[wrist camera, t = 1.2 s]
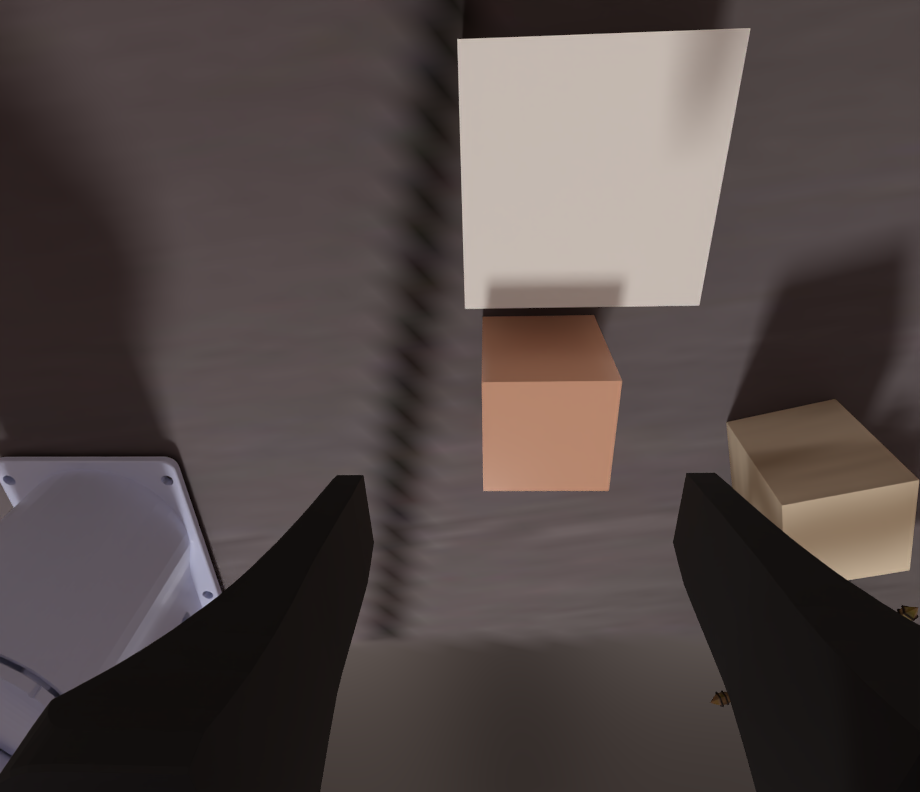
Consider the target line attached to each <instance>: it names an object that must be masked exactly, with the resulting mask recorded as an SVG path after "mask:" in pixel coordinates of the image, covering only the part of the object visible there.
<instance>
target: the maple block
mask: <svg viewBox="0 0 920 792" xmlns="http://www.w3.org/2000/svg"><path fill="white" fill-rule="evenodd" d="M727 434H728V445H729V456H730V467H731V478H732V488H733V489H734V490H736V491H737V492H738V493H739V494H740V495H741V496H742V497H743V498H745V499H746V500H747V501H748V502H749V503H750V504H751V505H753V506H754V507H755V508H756V509H757V510H758V511H760V512H761V513H762V514H763V515H764V516H765V517H767V518H768V519H769V520H770V521H771V522H772V523H774V524H775V525H776V526H777V527H778V528H780V529H781V530H782V531H783V532H784V533H786V534H787V535H788V536H789V537H791V538H792V539H793V540H794V541H796V542H797V543H798V544H799V545H801V546H802V547H803V548H804V549H806V550H807V551H808V552H810V553H811V554H812V555H814V556H815V557H816V558H818V559H819V560H820V561H822V562H823V563H824V564H826V565H827V566H828V567H830V568H831V569H832V570H834V571H835V572H836V573H838V574H839V575H841V576H842V577H844V578H845V579H846V580H852V579H858V578H865V577H871V576H877V575H883V574H889V573H896V572H902V571H908V570H910V561H911V552H912V543H913V533H914V524H915V515H916V506H917V497H918V487H919V479H918V478H917V477H916V476H915V475H914V474H913V473H912V472H911V471H910V470H908V469H907V468H906V467H905V466H904V465H903V464H902V463H901V462H900V461H899V460H898V459H897V458H896V457H895V456H894V455H893V454H892V453H891V452H890V451H889V450H888V449H887V448H886V447H885V446H884V445H883V444H882V443H881V442H879V441H878V440H877V439H876V438H875V437H874V436H873V435H872V434H871V433H870V432H869V431H868V430H867V429H866V428H865V427H864V426H863V425H862V424H861V423H860V422H859V421H858V420H857V419H856V418H855V417H854V416H853V415H852V414H850V413H849V412H848V411H847V410H846V409H845V408H844V407H843V406H842V405H841V404H840V403H839V402H838V401H837V400H836V399H832V400H827V401H823V402H818V403H813V404H809V405H804V406H799V407H795V408H790V409H785V410H781V411H776V412H771V413H767V414H762V415H757V416H753V417H748V418H743V419H739V420H734V421H729V422H727Z"/></svg>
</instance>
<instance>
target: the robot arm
mask: <svg viewBox="0 0 920 792" xmlns="http://www.w3.org/2000/svg"><path fill="white" fill-rule="evenodd" d="M167 476H169V477H171V478H172V479H169V478H167ZM0 483H1V485H2V486H3V488H4V490H5V492H6V494H7V496H8V498H9V499H10V501H11V503H12V505H13V507H14V508H13V509H12V510H11V511H10V512H9V513H8V514H7V515H6V516H4V517H3V518H2V519H1V520H0V792H320V789H321V782H322V777H323V771H324V765H325V759H326V753H327V747H328V741H329V735H330V730H331V724H332V719H333V713H334V707H335V702H336V696H337V692H338V688H339V684H340V679H341V676H342V672H343V668H344V665H345V661H346V658H347V654H348V651H349V647H350V644H351V640H352V637H353V633H354V630H355V626H356V623H357V619H358V616H359V612H360V609H361V605H362V601H363V598H364V594H365V591H366V587H367V583H368V577H369V571H370V565H371V558H372V551H373V544H374V540H373V534H372V528H371V521H370V515H369V508H368V502H367V495H366V489H365V483H364V476H363V475H337V476H336V477H335V478H334V479H333V480H332V481H331V482H330V483H329V485H328V486H327V487H326V488H325V489H324V490H323V492H322V493H321V494H320V495H319V496H318V497H317V499H316V500H315V501H314V502H313V503H312V504H311V505H310V507H309V508H308V509H307V510H306V511H305V512H304V513H303V515H302V516H301V517H300V518H299V519H298V520H297V521H296V522H295V523H294V524H293V526H292V527H291V528H290V529H289V530H288V531H287V532H286V533H285V534H284V535H283V536H282V537H281V538H280V540H279V541H278V542H277V543H276V544H275V545H274V546H273V547H272V548H271V549H270V550H269V551H267V552H266V553H265V554H264V555H263V556H262V557H261V558H260V559H259V560H258V561H257V562H256V563H255V564H254V565H253V566H252V567H251V568H250V569H249V570H248V571H247V572H246V573H245V574H243V575H242V576H241V577H240V578H239V579H238V580H237V581H236V582H234V583H233V584H232V585H231V586H230V587H228V588H227V589H226V590H225V591H224V592H221V589H220V586H219V583H218V580H217V577H216V574H215V571H214V568H213V565H212V562H211V559H210V556H209V553H208V550H207V547H206V544H205V541H204V538H203V535H202V532H201V530H200V527H199V524H198V521H197V518H196V515H195V512H194V509H193V506H192V503H191V500H190V497H189V494H188V491H187V488H186V485H185V482H184V479H183V476H182V473H181V470H180V467H179V465H178V463H177V462H176V461H175V460H174V459H172V458H169V457H1V458H0ZM673 544H674V548H675V552H676V556H677V560H678V564H679V568H680V571H681V575H682V579H683V582H684V586H685V588H686V591H687V593H688V596H689V598H690V601H691V603H692V606H693V608H694V611H695V613H696V616H697V618H698V621H699V623H700V626H701V628H702V630H703V633H704V635H705V638H706V640H707V643H708V645H709V647H710V650H711V652H712V655H713V657H714V660H715V662H716V665H717V667H718V669H719V672H720V674H721V677H722V679H723V682H724V685H725V687H726V690H727V693H728V696H729V699H730V702H731V705H732V708H733V711H734V715H735V718H736V722H737V725H738V728H739V731H740V735H741V738H742V742H743V745H744V748H745V752H746V756H747V759H748V763H749V767H750V770H751V774H752V778H753V781H754V785H755V789H756V792H920V625H918V624H916V623H915V622H913V621H911V620H909V619H908V618H906V617H904V616H903V615H901V614H899V613H898V612H896V611H894V610H893V609H891V608H889V607H888V606H886V605H884V604H883V603H881V602H880V601H878V600H877V599H875V598H874V597H872V596H871V595H869V594H868V593H866V592H865V591H863V590H861V589H860V588H858V587H857V586H855V585H854V584H852V583H851V582H849V581H848V580H846V579H845V578H844V577H842V576H841V575H839V574H838V573H836V572H835V571H834V570H832V569H831V568H830V567H828V566H827V565H826V564H824V563H823V562H822V561H820V560H819V559H818V558H816V557H815V556H814V555H812V554H811V553H810V552H808V551H807V550H806V549H804V548H803V547H802V546H801V545H799V544H798V543H797V542H796V541H794V540H793V539H792V538H791V537H789V536H788V535H787V534H786V533H784V532H783V531H782V530H781V529H780V528H778V527H777V526H776V525H775V524H774V523H772V522H771V521H770V520H769V519H768V518H767V517H765V516H764V515H763V514H762V513H761V512H760V511H758V510H757V509H756V508H755V507H754V506H753V505H751V504H750V503H749V502H748V501H747V500H746V499H745V498H743V497H742V496H741V495H740V494H739V493H738V492H737V491H736V490H734V489H733V488H732V487H731V486H730V485H729V484H727V483H726V482H725V481H724V480H723V479H722V478H720V477H719V476H718V475H717V474H716V473H686V478H685V483H684V488H683V494H682V499H681V504H680V509H679V514H678V520H677V525H676V530H675V535H674V540H673Z"/></svg>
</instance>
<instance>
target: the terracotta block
mask: <svg viewBox="0 0 920 792" xmlns="http://www.w3.org/2000/svg"><path fill="white" fill-rule="evenodd" d="M621 386H622V379H621V377H620V375H619V372H618V370H617V368H616V365H615V363H614V361H613V358H612V356H611V354H610V351H609V349H608V347H607V344H606V342H605V340H604V337H603V335H602V333H601V330H600V328H599V326H598V323H597V321H596V319H595V316H594V315H563V316H494V317H483V328H482V426H483V491H609V484H610V476H611V468H612V460H613V451H614V443H615V435H616V427H617V419H618V411H619V402H620V394H621Z"/></svg>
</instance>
